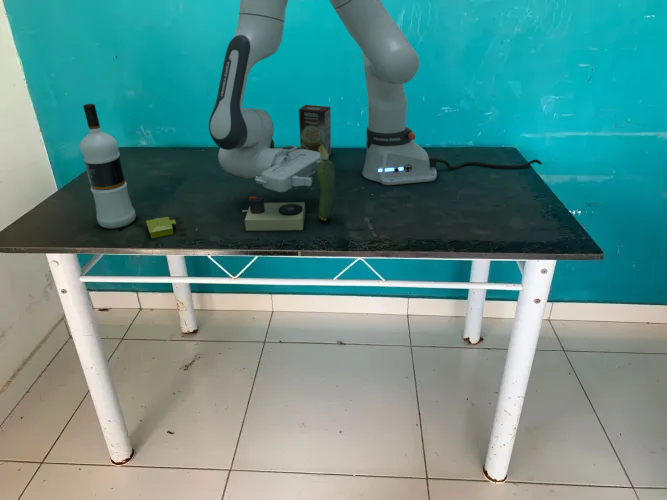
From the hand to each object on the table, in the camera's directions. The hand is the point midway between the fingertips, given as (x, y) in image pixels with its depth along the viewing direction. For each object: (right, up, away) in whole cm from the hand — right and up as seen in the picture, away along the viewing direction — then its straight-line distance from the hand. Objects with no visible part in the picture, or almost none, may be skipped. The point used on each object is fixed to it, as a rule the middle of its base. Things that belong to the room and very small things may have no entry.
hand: (322, 175), depth 127 cm
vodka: (-53, -11, +8) cm, 54 cm away
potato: (-21, +14, +51) cm, 57 cm away
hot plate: (-12, -11, +6) cm, 17 cm away
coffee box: (-3, +14, +49) cm, 51 cm away
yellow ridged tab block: (-40, -13, +3) cm, 42 cm away
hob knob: (-16, -8, +4) cm, 19 cm away
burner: (-8, -8, +4) cm, 12 cm away
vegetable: (+1, -11, +5) cm, 12 cm away
